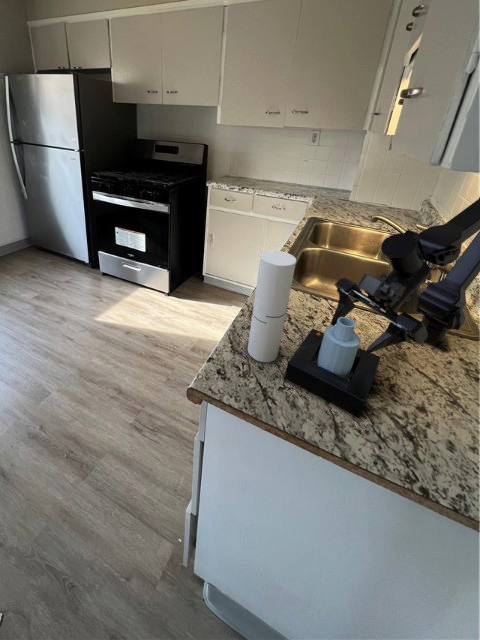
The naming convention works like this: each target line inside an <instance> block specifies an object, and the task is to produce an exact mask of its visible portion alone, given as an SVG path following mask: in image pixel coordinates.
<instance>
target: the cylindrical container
mask: <svg viewBox="0 0 480 640" xmlns="http://www.w3.org/2000/svg"><path fill="white" fill-rule="evenodd" d="M296 264H297V258H296V257H295V256H294V255H293V254H291V253H288V252H285V251H281V250H265V251H263V252H262V253H260V259H259V264H258V265H259V267H258V273H257V279H256V287H255V294H254V299H253V300H254V301H253V307H252V315H251V322H250V329H249V336H248V344H247V352H248V353H247V354H248V355H249V356H250V357H251V358H252V359H254V360H255V361H258V362H260V363H272V362H274V361H276V360H277V359H278V356H279V352H280V348H281V347H280V346H281V341H282V336H283V331H284V325H285V322H286V317H287V310H288V305H289V301H290V296H291V295H290V294H291V290H292V285H293V280H294V276H295V275H294V274H295V270H296Z"/></svg>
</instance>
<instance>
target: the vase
mask: <svg viewBox="0 0 480 640" xmlns="http://www.w3.org/2000/svg"><path fill="white" fill-rule="evenodd" d="M355 327H356V322H355V321H354V320H353V319H352V318H349V317H347V316H345V317H340V318H338V320H337V324H336V325H334V326H333V325H329V326H327V327H326V328H325V330H324V332H323V333H324V336H323V340H322V344H321V348H320V351H319V355H318V357H317V359H316V363H315V364H316V365H318V366H320V367H322V368H324V369H326V370H328V371H330V372H332V373H335V374H337V375H339V376H341V377H343V378H345V379H347V380H349V377H350V374H351V368H352V365H353V362H354V359H355V356H356V353H357V350H358V347H359V346H360V344H361V338H360V336H359V335H358V334H357V333H356V332H355V331H354V330H355ZM359 348H360V347H359Z"/></svg>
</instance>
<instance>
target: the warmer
mask: <svg viewBox="0 0 480 640" xmlns="http://www.w3.org/2000/svg"><path fill="white" fill-rule="evenodd" d="M324 333H325V332H322V331H320V330H317V329H316V328H313V327H312V328H311V330H310V331H309V333H308V334H307V336H306V337H305V338H304V339H303V341H302V342H301V344H300V345H299V347H298V348H297V349H296V351H295V352H294V353H293V355H292V356H291V358H290V359H289V361H288V362H287V365H286V370H285V374H284V379H285V380H287V381H289V382H291V384H294V385H296V386H298V387H300V388H301V389H304V390H305V391H307V392H309V393H311V394H313V395H315V396H317V397H318V398H321V399H322V400H324V401H326V402H328V403H329V404H332V405H333V406H335V407H337V408H339V409H341V410H342V411H344V412H346V413H349V414H350V415H352V416H354V417H357V418H358V419H359V418H360V417H361V415H362V411H363V409H364V406H365V404H366V402H367V399H368V395H369V394H370V393H369V392H370V390H371V386H372V383H373V381H374V378H375V375H376V373H377V369H378V367H379V364H380V361H381V356H380V355H377V354H375V353H374V352H372V353H368V352H367V351H366V350H365V349H363V348H361V347H358V350H357V353H356V356H355V359H354V362H353V365H352V368H351V371H350V373H352V377H351V379H350V380H349V379H348V380H347V379H345V378H343V377H341V376H339V375H337V374H335V373H332V372H330V371H328V370H326V369H324V368H322V367H320V366H318V365H316V363H315V362H317V359H318V355H319V351H320V348H321V344H322V340H323V336H324Z"/></svg>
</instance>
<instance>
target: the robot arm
mask: <svg viewBox="0 0 480 640" xmlns="http://www.w3.org/2000/svg"><path fill="white" fill-rule="evenodd" d="M475 234H476V235H475ZM474 235H475V236H474ZM473 236H474V237H473ZM471 237H473V239H472V240H471V241H470V243H469V244H468V246H467V247H466V249H465V250H464V251H463V253H462V254H461V252H462V246H463V244H464V243H465V242H466V241H467V240H469V239H470V238H471ZM380 249H381V252H382V255H383V256H384V258H385V261H386V262H387V264H388V266H389V267H390V269H391V270H390V271H389V272H388V273H387V274H384V273H382V274H381V275H380V276H378V278H377V277H375V276H373V275H371V274H369V273H364V274H363V276H362V278H360V281H359V282H358V283H355V282H353V281H352V280H350V279H348V278H347V277H342V278H339V279H338V280H336V282H335V283H334V286H335V288H336V292H337V294H338V302H337V306H336V309H335V311H334V314H333V316H332V319H331V321H330V325H331V326H336V324H337V320H338V318H340V317H347V316H348V314H350V313H351V312H352V311H353V310H354V309H355V308H356V307H357V306H356V304H355V303H361V304H363V305H364V306H366V307H368V308H369V309H371V310H373V311H374V312H376V313H377V314H379V315H380V316H382V317H384V318H385V319H387V320H388V321H390V322H389V324H388V326H387V327H386V329H385V331H383V332H382V333H381V334H380V335H379V336H377V338H376V339H375V340H374V341H373V342H372V343H371V344H370V345H368V347H367V349H366V350H365V351H367V352H368V353H374V352H377V351H379V350H383V349H384V348H387V347H390V346H395V345H398V344H402V343H407V344H409V345H410V344H412V343H413V342H414V343H415V344H417V345H419V346H421V345H422V344H423V343H425V344H427V345H429V346H433V347H436V348H438V349H442V350H444V349H445V348H446V347H445V346H446V335H447V334H448V332H449V331H452V330H456V331H459V330H460V329H461V327H462V325H464V323H465V321H466V319H467V317H466V315H465V312H464V308H465V307H466V305H467V293H466V291H467V289H468V288H469V287H470V286H471V284H472V283H473V281H474V280H475V279H476V278H477V276H479V274H480V196H479V197H478V198H477V199H476V200H475V201H474V202H472V203H471V204H470V205H468V206H467V207H466V208H464V209H463V210H461V211H460V212H459V213H457V214H456V215H455V216H454V217H452V218H451V219H449V220H448V221H447V222H445V223H442V224H439V225H432V226H429V227H427V228H426V229H424V230H421V231H420V232H417V231H414V230H411V229H407V230H406V231H405V232H403V233H396V234H392V235H390V236H388V237H386V238H385V239H383V241H382V243H381V245H380ZM460 254H461V255H460ZM459 255H460V256H459ZM456 260H457V261H456ZM455 261H456V262H455ZM427 262H428V263H430V264H433V265H436V266H438V267H443V268H444V267H447V266H448V265H450V264H453V263H454V262H455V263H454V264H453V266H452V267H451V268H450V270H449V271H448V273H447V274H446V276H445V277H444V278H443V279H442V280H441V279H440V280H439V281H437V282H435V281H431V280H432V277H433V274H432V269H433V268H432V267H431V266H429V264H428V263H427ZM425 281H431V282H430V283H428V284H427V286H426V288H425V289H424V290H423V291H422V292H420V293H419V295H418V296H417V298H416V304H415V312H416V313H418V314H421V315H422V318H421V320H419V319H417V318H416V317H415V316H412V315H411V314H409V313H407V312H401V313H398V309H399V308H400V307H401V306H402V305H404V303H405V302H407V303H409V302H410V301H411V300H412V298H413V297H412V295H413V294H414V293H415V292H416V290H417V289H419V287H420V286H422V285H423V283H424V282H425ZM362 290H363V291H364V293H363V291H362Z"/></svg>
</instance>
